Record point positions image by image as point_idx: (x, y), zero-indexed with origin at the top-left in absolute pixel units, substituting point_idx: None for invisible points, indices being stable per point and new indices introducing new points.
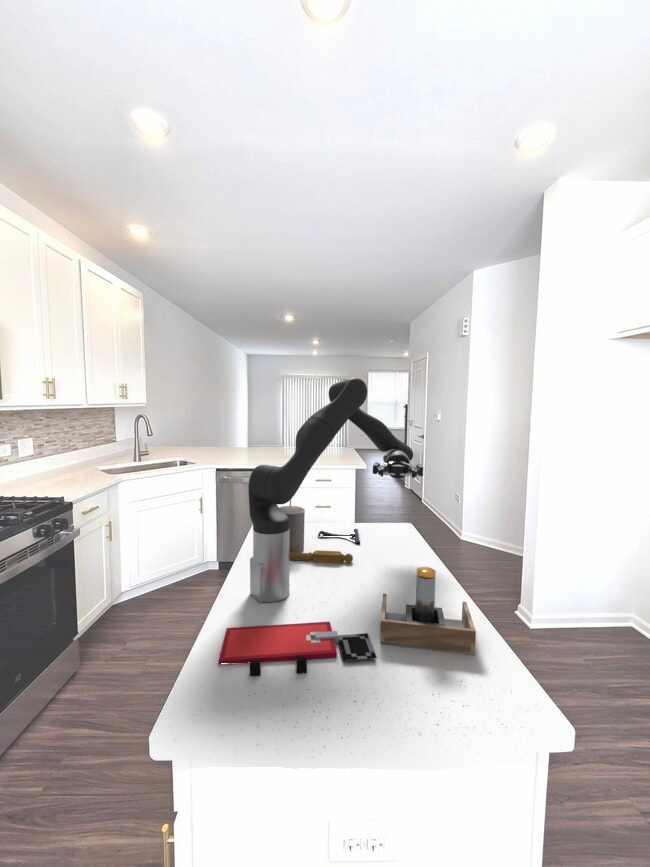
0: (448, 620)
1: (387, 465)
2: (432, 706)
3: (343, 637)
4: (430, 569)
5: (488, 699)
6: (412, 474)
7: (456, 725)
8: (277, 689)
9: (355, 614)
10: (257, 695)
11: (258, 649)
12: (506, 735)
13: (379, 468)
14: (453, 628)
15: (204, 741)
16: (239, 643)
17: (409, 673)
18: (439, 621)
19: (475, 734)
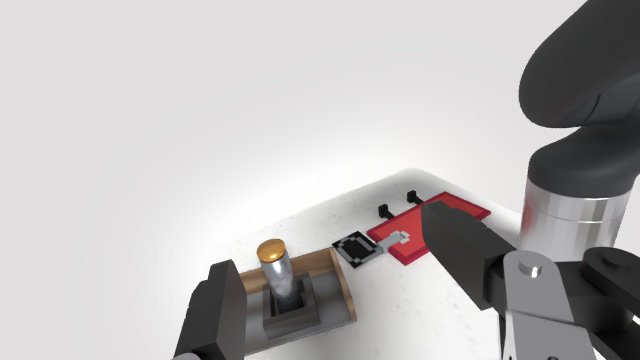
0: (258, 345)
1: (511, 332)
2: (283, 233)
3: (375, 252)
4: (263, 253)
5: (242, 254)
6: (237, 275)
7: (269, 229)
8: (386, 201)
9: (391, 300)
10: (394, 194)
11: None
12: (240, 236)
13: (501, 244)
14: (253, 270)
15: (394, 174)
16: (453, 205)
17: (302, 249)
18: (269, 293)
19: (258, 230)
